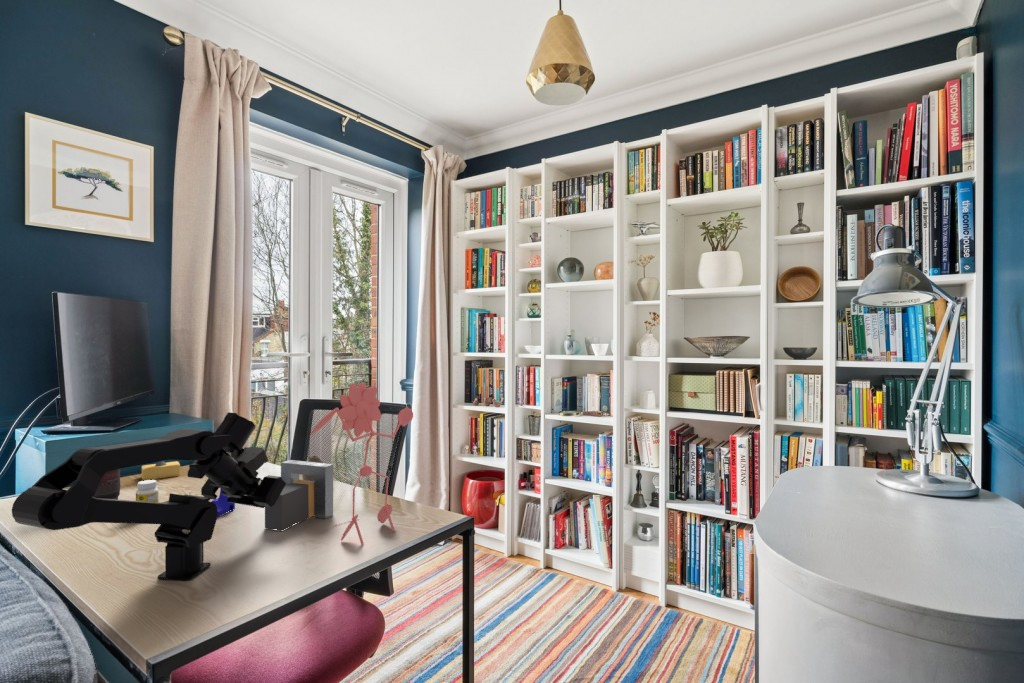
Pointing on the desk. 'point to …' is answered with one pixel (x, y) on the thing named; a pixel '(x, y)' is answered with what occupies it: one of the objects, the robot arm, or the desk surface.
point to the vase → (312, 459)
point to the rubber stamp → (160, 470)
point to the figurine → (359, 416)
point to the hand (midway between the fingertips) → (263, 505)
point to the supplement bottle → (147, 491)
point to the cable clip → (223, 504)
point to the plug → (292, 505)
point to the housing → (322, 482)
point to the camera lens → (109, 485)
